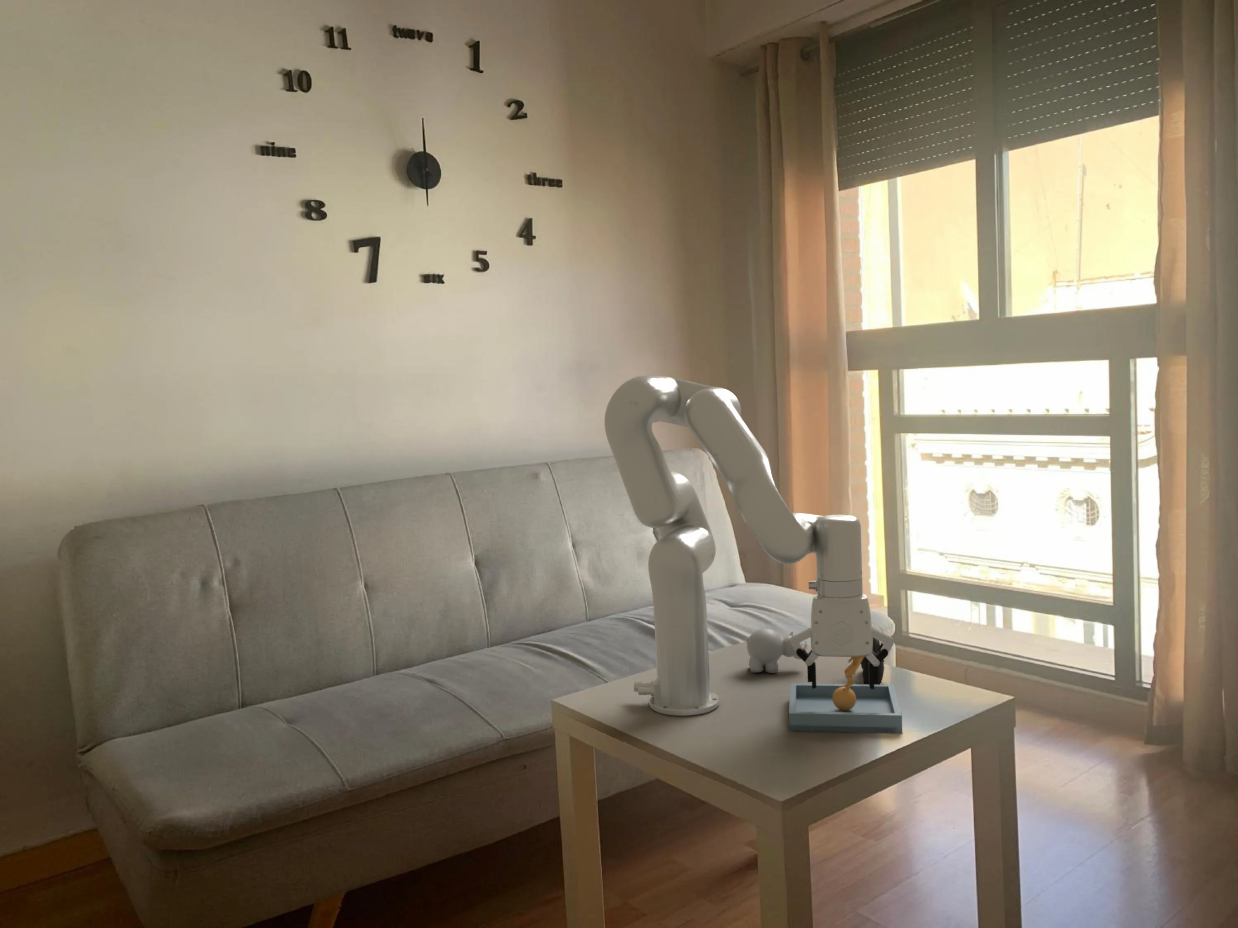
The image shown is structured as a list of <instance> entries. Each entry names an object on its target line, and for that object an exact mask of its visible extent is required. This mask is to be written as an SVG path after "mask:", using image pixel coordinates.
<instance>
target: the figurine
mask: <svg viewBox="0 0 1238 928" xmlns="http://www.w3.org/2000/svg"><path fill="white" fill-rule="evenodd" d="M864 658H865V656H864V657H862V656H860V657H849V659H848V661H847V663H848V664H849V665H848V666H847V667H846V668H845V669H844V675H845V678H846V679H847V681H848V682H847V683H846V685H843V686H842V687H840V688H838V689H836V690H835V691H834V693H833V696H832V700H833V703H834V705H835V706H836V707H837V708H838V709H839V710H842V711H847V710H850V709H852V708H853V707H854V705H855V703H856V696H855V693H854V692H853V691H852V690H851V689H850V687H851V686H852V684H854V678H855V675H856V673H857V670H858V668H860V666H861V662H862V660H863V659H864Z"/></svg>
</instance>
